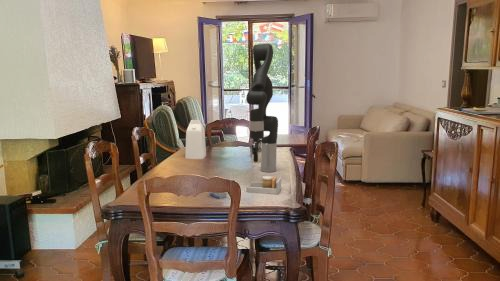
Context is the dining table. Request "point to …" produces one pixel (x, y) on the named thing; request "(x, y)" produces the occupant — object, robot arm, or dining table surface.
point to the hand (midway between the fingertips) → (256, 160)
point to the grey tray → (256, 188)
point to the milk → (195, 141)
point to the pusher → (274, 182)
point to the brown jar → (267, 181)
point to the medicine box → (219, 195)
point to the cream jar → (258, 156)
